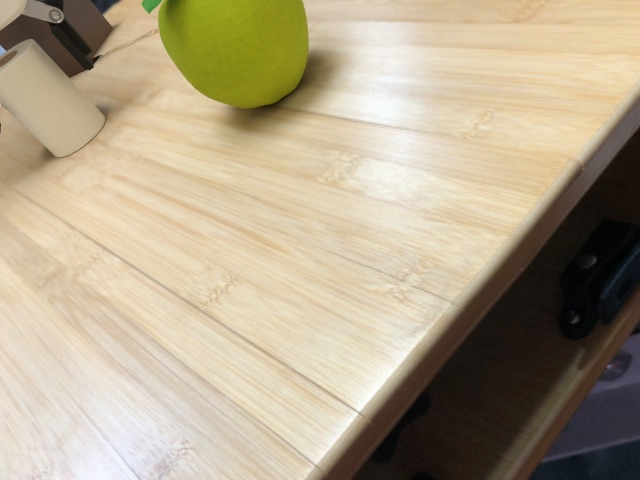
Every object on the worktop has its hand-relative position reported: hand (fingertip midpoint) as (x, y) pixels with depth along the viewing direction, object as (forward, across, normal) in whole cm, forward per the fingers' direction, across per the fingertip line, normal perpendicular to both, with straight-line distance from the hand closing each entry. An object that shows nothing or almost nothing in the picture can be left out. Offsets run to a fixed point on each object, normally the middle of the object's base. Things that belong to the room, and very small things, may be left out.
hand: (44, 98), depth 54 cm
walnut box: (+4, -2, -22) cm, 23 cm away
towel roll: (+4, 0, 0) cm, 4 cm away
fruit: (+4, -15, +18) cm, 24 cm away
